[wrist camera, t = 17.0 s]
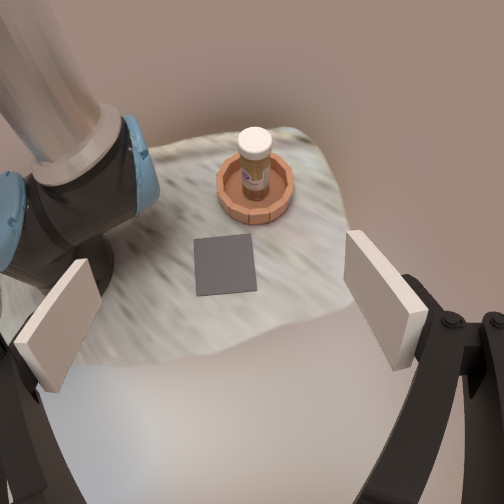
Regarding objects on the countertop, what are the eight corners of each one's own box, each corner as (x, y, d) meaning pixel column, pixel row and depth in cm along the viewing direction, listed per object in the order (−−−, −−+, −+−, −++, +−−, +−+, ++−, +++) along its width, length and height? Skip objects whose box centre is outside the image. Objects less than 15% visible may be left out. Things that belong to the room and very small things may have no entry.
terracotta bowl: (221, 228, 50) (218, 218, 46) (217, 166, 54) (215, 153, 50) (296, 221, 50) (299, 210, 47) (285, 159, 54) (287, 147, 50)
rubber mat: (197, 296, 47) (196, 295, 46) (194, 240, 49) (193, 239, 49) (256, 290, 47) (256, 290, 47) (250, 234, 50) (250, 233, 49)
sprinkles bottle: (236, 194, 51) (230, 143, 38) (250, 173, 52) (248, 120, 40) (261, 206, 50) (261, 157, 37) (274, 185, 51) (278, 133, 39)
